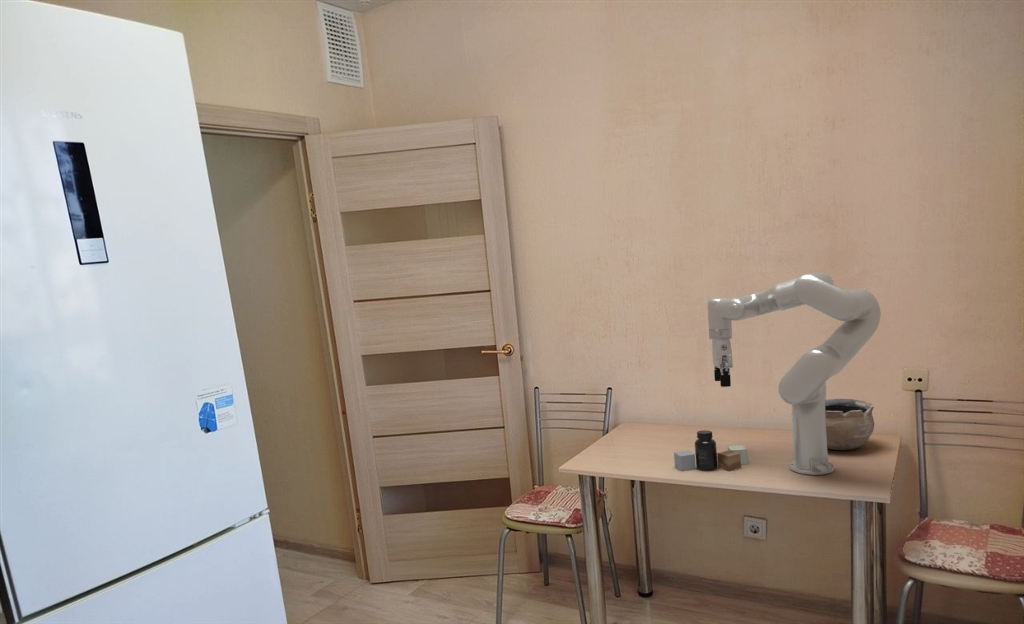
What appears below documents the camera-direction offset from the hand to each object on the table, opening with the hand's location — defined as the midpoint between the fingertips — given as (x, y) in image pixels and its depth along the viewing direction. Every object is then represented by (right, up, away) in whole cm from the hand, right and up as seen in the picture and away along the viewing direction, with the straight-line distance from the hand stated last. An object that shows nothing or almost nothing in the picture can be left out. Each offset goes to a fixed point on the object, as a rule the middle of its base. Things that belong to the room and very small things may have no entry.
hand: (722, 383), depth 219 cm
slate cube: (-15, -27, -7) cm, 32 cm away
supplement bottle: (-8, -27, -9) cm, 29 cm away
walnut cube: (-1, -26, -11) cm, 28 cm away
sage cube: (+3, -26, -6) cm, 26 cm away
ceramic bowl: (+40, -22, +1) cm, 46 cm away
